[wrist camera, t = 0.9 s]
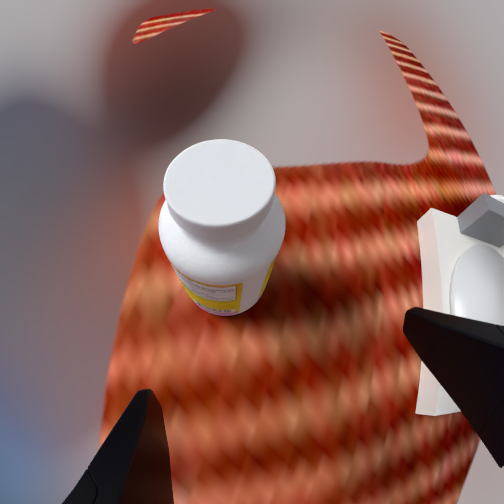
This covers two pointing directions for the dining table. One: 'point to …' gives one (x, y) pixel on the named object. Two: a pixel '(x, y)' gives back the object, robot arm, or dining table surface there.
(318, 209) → the dining table surface
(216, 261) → the supplement bottle
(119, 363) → the dining table surface
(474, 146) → the dining table surface
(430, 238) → the kitchen scale
